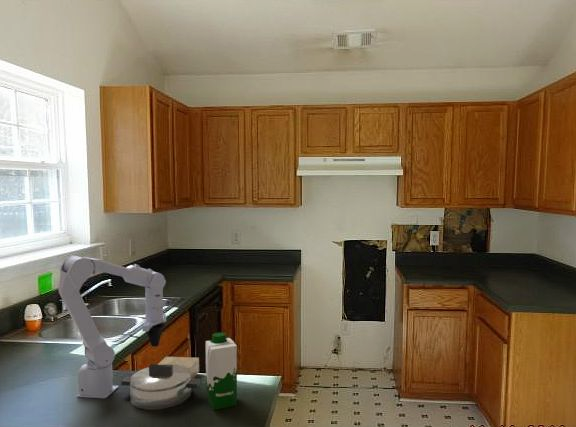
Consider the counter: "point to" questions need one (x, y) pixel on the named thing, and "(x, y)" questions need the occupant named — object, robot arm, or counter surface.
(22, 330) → the counter surface
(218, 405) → the milk carton
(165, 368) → the cooker lid
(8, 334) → the counter surface
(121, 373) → the counter surface
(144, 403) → the cooker pot
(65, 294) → the robot arm
